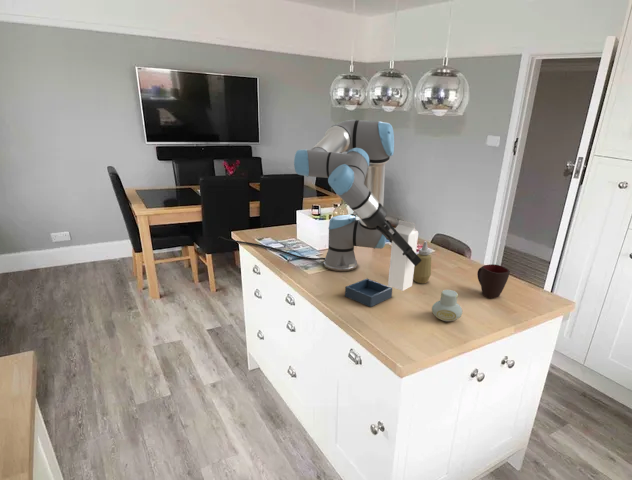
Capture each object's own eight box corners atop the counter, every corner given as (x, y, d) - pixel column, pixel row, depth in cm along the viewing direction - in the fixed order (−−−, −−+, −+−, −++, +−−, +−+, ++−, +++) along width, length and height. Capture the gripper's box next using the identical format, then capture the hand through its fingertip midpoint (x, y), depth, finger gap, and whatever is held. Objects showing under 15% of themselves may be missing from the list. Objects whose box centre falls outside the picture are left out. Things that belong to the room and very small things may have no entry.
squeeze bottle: (429, 285, 179) (434, 245, 171) (410, 283, 180) (415, 243, 173) (430, 279, 186) (435, 240, 179) (412, 276, 187) (417, 238, 180)
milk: (397, 281, 144) (404, 218, 134) (412, 286, 140) (420, 222, 131) (387, 286, 139) (393, 221, 130) (402, 291, 136) (409, 225, 127)
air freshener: (429, 320, 149) (433, 294, 145) (432, 310, 157) (435, 286, 153) (460, 325, 147) (465, 299, 143) (461, 315, 155) (465, 290, 151)
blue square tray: (344, 296, 163) (345, 286, 161) (366, 287, 172) (367, 278, 171) (370, 307, 156) (371, 297, 154) (391, 297, 165) (392, 287, 164)
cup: (489, 302, 168) (495, 274, 163) (467, 288, 179) (472, 262, 174) (507, 298, 172) (513, 271, 167) (485, 286, 183) (490, 260, 178)
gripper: (350, 211, 133) (391, 255, 146) (373, 229, 116) (418, 278, 128) (366, 194, 133) (406, 240, 145) (392, 210, 115) (435, 261, 128)
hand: (412, 258), depth 137 cm, fingers closed on milk, 8 cm apart
